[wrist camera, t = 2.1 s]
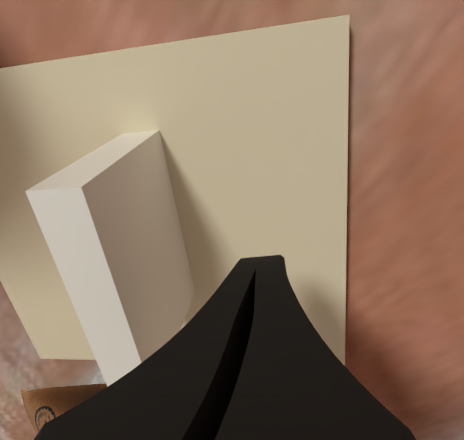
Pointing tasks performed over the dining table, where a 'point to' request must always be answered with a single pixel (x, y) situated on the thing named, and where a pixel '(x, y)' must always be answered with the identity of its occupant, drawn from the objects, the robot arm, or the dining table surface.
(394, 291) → the dining table surface
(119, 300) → the tile
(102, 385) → the sunglasses case
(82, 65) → the mat
